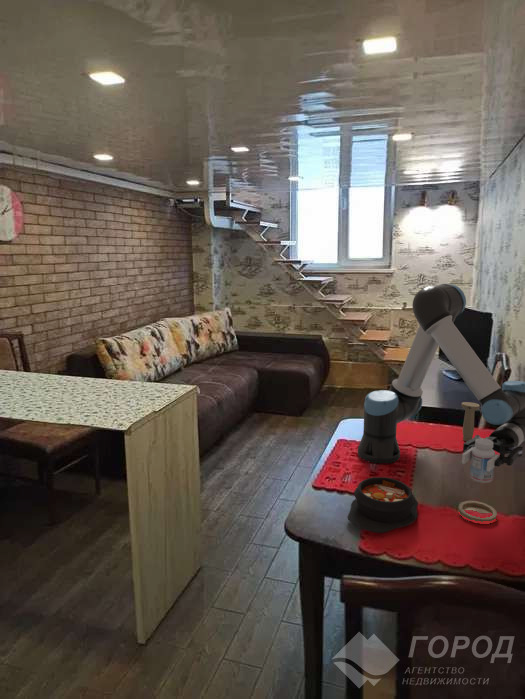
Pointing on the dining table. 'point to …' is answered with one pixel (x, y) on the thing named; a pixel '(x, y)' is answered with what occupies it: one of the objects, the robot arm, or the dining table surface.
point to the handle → (469, 419)
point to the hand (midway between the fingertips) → (475, 462)
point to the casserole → (382, 505)
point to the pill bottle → (481, 460)
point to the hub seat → (479, 508)
